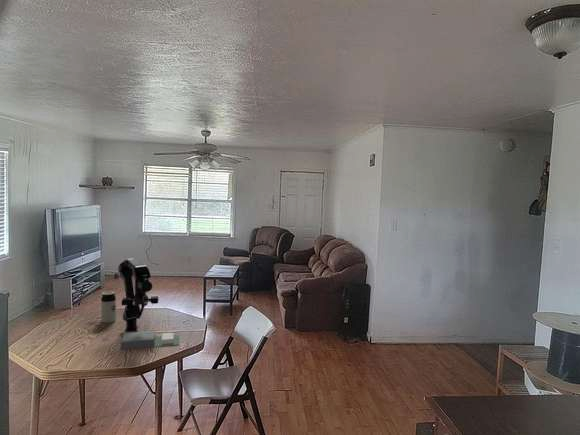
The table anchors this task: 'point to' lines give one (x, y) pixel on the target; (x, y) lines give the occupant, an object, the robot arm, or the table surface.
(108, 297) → the travel mug
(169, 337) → the block
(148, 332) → the grey flat box
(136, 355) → the table surface
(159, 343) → the mat
